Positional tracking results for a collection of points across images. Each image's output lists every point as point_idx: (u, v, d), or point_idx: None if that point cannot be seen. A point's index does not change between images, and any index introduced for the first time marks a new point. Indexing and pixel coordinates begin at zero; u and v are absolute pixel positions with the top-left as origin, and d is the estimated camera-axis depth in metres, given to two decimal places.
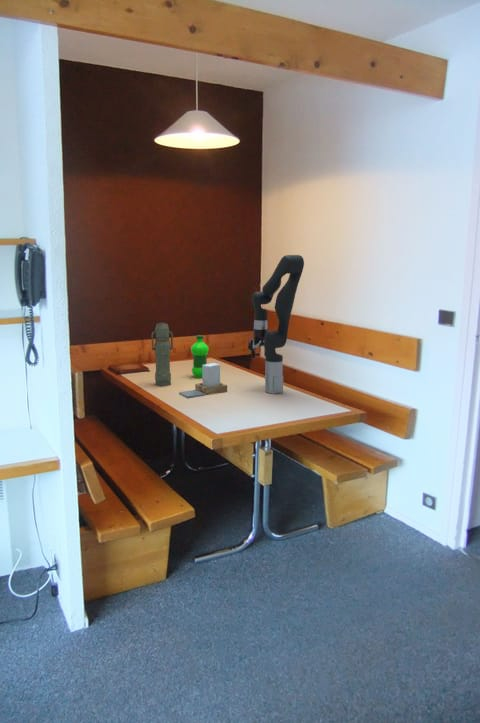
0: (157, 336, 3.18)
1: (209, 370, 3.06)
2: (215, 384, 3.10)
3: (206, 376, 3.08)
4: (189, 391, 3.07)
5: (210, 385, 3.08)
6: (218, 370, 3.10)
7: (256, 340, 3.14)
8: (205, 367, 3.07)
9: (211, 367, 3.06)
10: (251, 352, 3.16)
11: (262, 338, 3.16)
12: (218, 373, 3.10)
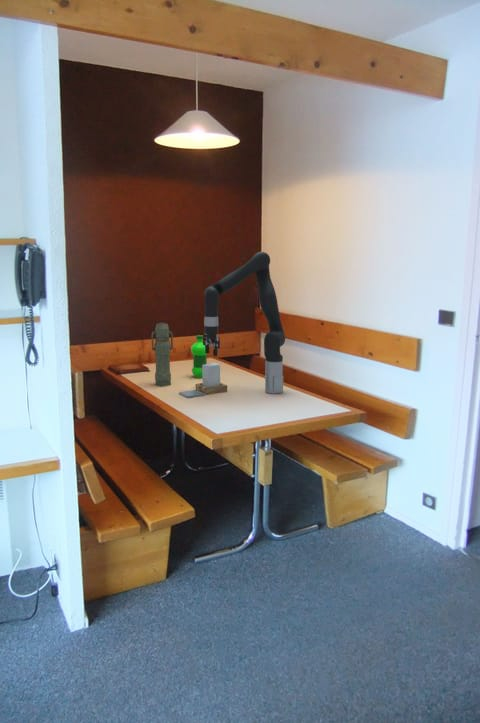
0: (157, 336, 3.18)
1: (209, 370, 3.06)
2: (216, 384, 3.10)
3: (206, 376, 3.08)
4: (189, 391, 3.07)
5: (210, 385, 3.08)
6: (218, 370, 3.10)
7: None
8: (205, 367, 3.07)
9: (211, 367, 3.06)
10: (215, 351, 3.04)
11: None
12: (218, 373, 3.10)
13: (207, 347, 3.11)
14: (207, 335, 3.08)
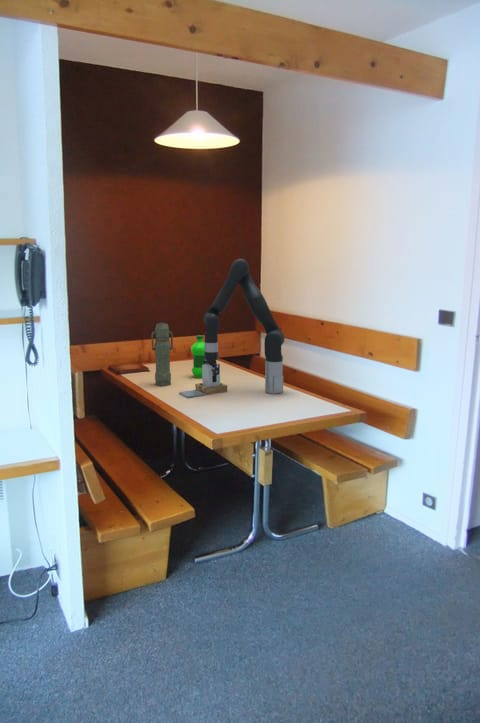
0: (157, 336, 3.18)
1: (209, 370, 3.06)
2: (215, 384, 3.10)
3: (206, 376, 3.08)
4: (189, 391, 3.07)
5: (210, 385, 3.08)
6: None
7: None
8: (205, 367, 3.07)
9: (211, 367, 3.06)
10: (214, 377, 3.07)
11: None
12: None
13: None
14: (207, 360, 3.11)
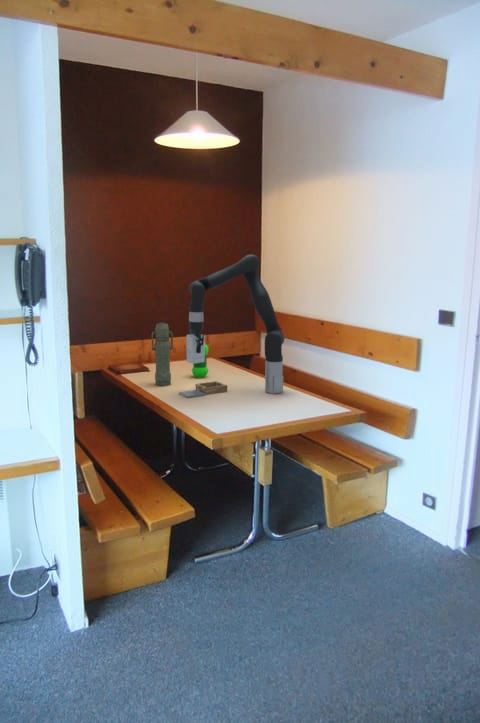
0: (157, 336, 3.18)
1: (193, 340, 2.97)
2: (200, 356, 3.02)
3: (190, 347, 2.99)
4: (189, 391, 3.07)
5: (194, 356, 2.99)
6: (203, 341, 3.01)
7: None
8: (189, 337, 2.98)
9: (195, 337, 2.98)
10: (198, 348, 2.98)
11: None
12: (203, 344, 3.01)
13: None
14: (192, 330, 3.02)
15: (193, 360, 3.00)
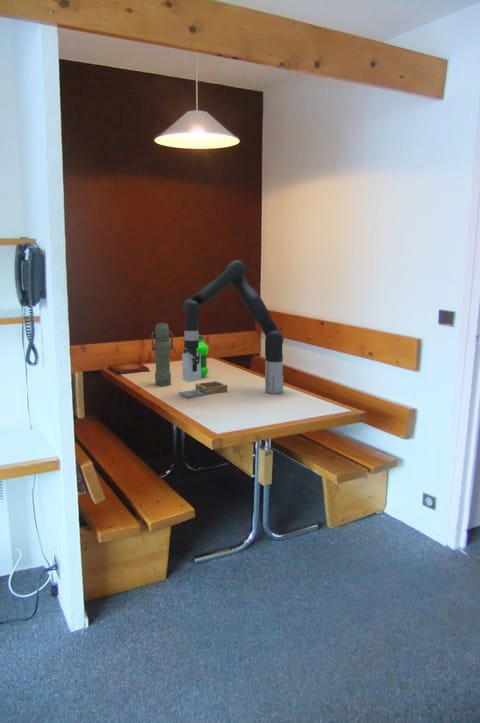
0: (157, 336, 3.18)
1: (189, 359, 2.96)
2: (196, 374, 3.00)
3: (186, 366, 2.98)
4: (189, 391, 3.07)
5: (190, 374, 2.98)
6: None
7: None
8: (185, 356, 2.97)
9: (191, 356, 2.97)
10: (194, 366, 2.97)
11: None
12: None
13: None
14: (187, 349, 3.01)
15: (189, 379, 2.98)
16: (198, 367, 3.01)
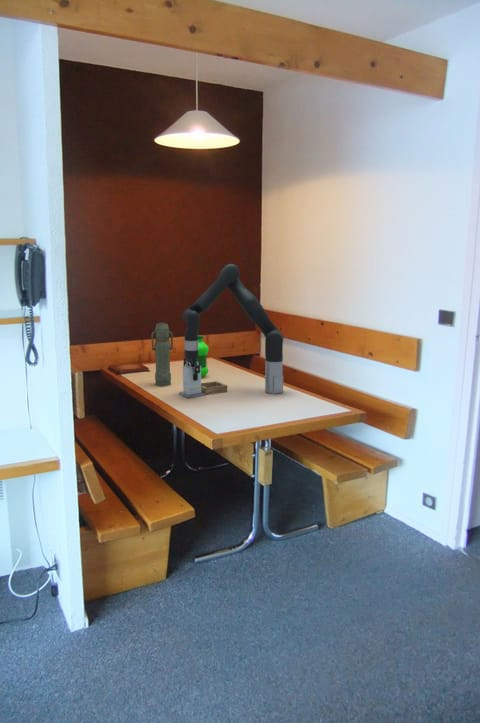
0: (157, 336, 3.18)
1: (189, 372, 2.97)
2: (196, 386, 3.01)
3: (186, 378, 2.99)
4: None
5: (190, 387, 2.99)
6: None
7: None
8: (185, 368, 2.98)
9: (191, 368, 2.97)
10: (195, 375, 2.97)
11: None
12: (199, 375, 3.01)
13: None
14: (187, 359, 3.01)
15: (190, 391, 2.99)
16: (198, 380, 3.01)
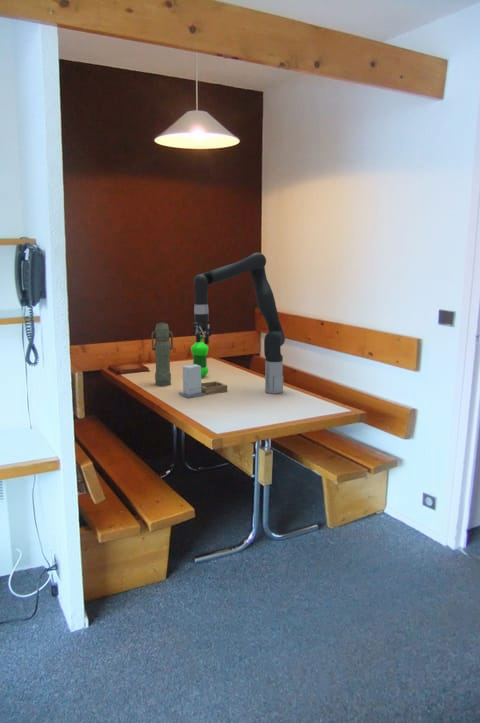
0: (157, 336, 3.18)
1: (189, 372, 2.97)
2: (196, 386, 3.01)
3: (186, 378, 2.99)
4: None
5: (190, 387, 2.99)
6: (199, 372, 3.01)
7: None
8: (185, 368, 2.98)
9: (191, 368, 2.97)
10: (206, 339, 3.01)
11: None
12: (199, 375, 3.01)
13: (198, 336, 3.09)
14: (197, 323, 3.05)
15: (190, 391, 2.99)
16: (198, 380, 3.01)
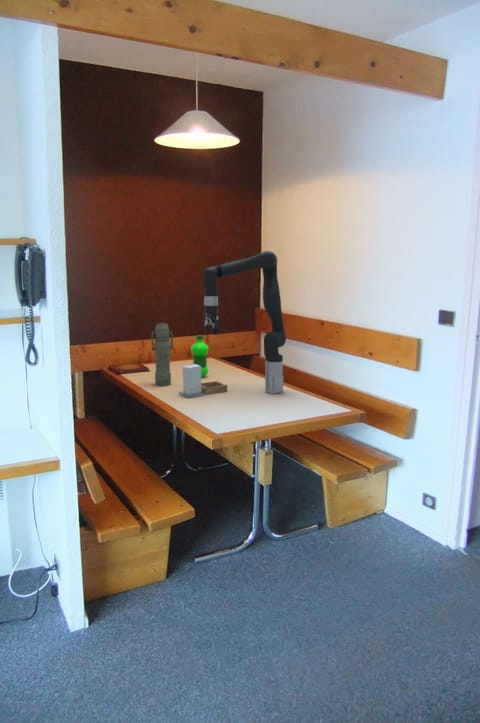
0: (157, 336, 3.18)
1: (189, 372, 2.97)
2: (196, 386, 3.01)
3: (186, 378, 2.99)
4: None
5: (190, 387, 2.99)
6: (199, 372, 3.01)
7: None
8: (185, 368, 2.98)
9: (191, 368, 2.97)
10: (215, 330, 3.09)
11: None
12: (199, 375, 3.01)
13: (207, 327, 3.17)
14: (207, 315, 3.14)
15: (190, 391, 2.99)
16: (198, 380, 3.01)
